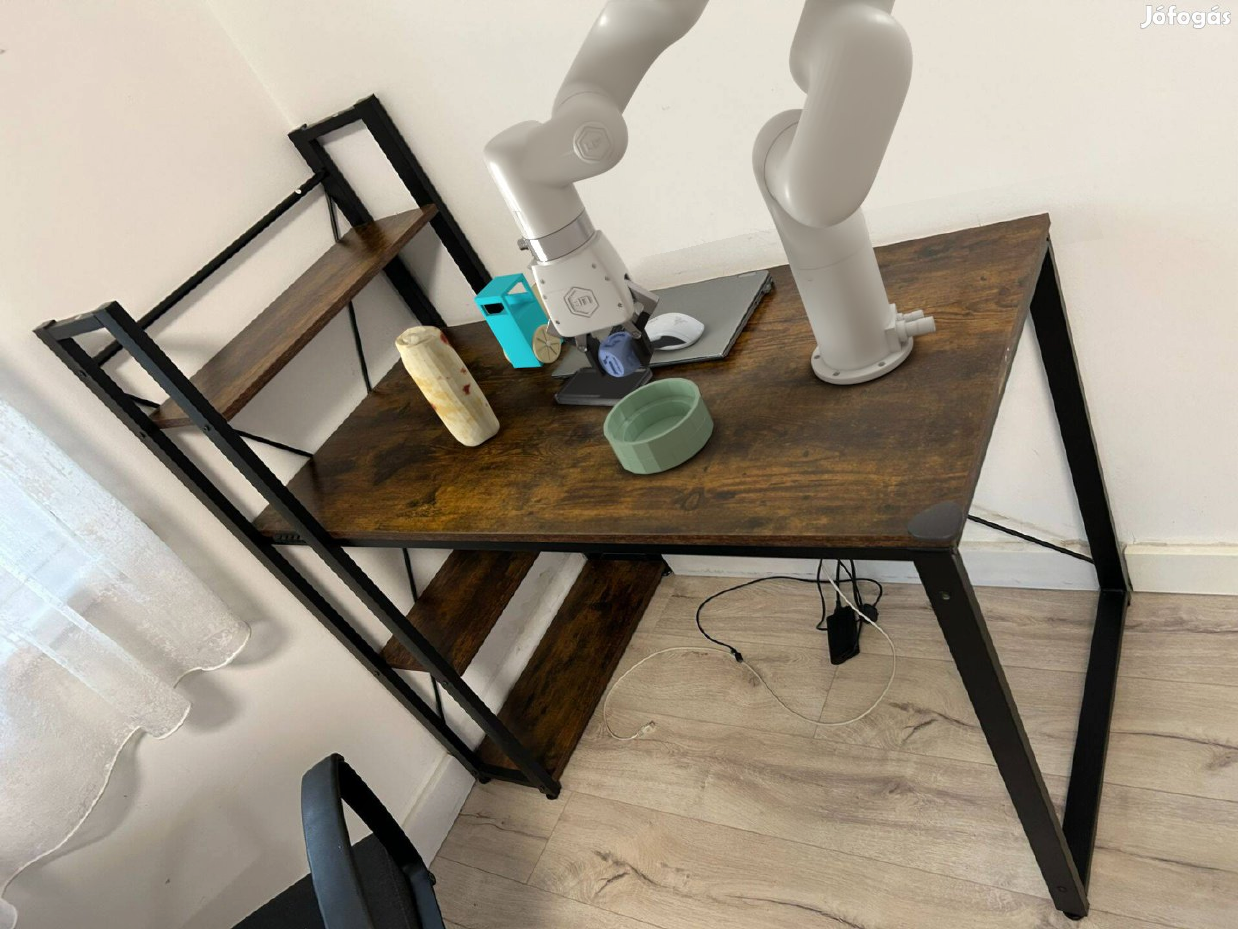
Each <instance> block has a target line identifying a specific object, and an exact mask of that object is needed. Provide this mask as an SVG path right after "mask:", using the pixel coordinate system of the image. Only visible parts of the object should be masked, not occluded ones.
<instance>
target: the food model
mask: <svg viewBox="0 0 1238 929" xmlns="http://www.w3.org/2000/svg"><path fill="white" fill-rule="evenodd" d="M395 346H396V348H397V350H398V352H399V353H400V357H401V361H402V363H403V366H404V368H405V369H406V371H407V373H408V374H409V375H410V376H411V378H412V379H413V381H414V382H415V383H416V386H418V388H419V389H420V391H421V393H422V394H423V395H424V397H425V398H426V400H427V401H428V403H429V404H430V406H431V407H432V408H433V410H434V411H435V413H436V414H437V415H438V417H439V418H440V419H441V421H442V423H443V424H444V426H446V428H447V430H448V431H449V432H450V433H451V434H452V436H453V437H454V438H455V439H456V440H457V441H458V442H459V443H461V444H463V445H464V446H466V447H477V446H480V444H482V443H484V442H485V441H487V440H488V439H490V438H492V437H494V436H495V435H497V434H498V432H499V429H500V422H499V419H498V418H497V417H496V415H495V413H494V411H493V409H492V407H491V405H490V404H489V401H488V400H487V398H486V396H485V395H484V393H483V392H482V389H481V388H480V387H479V385H478V383H477V382H476V380H475V378H473V375H472V374H471V373H470V371H469V369H468V368H467V365H465V363H464V361H463V359H461V357H460V356H459V354H458V353H457V352H456V350H455V349H454V348H453V346H452V345H451V343H450V342H449V340H448V339H447V337H446V336H445V334H444V333H443V331H442V330H440V329H439V328H438V327H437V326H433V325H417V326H412V327H409V328H407V329H406V330H404V331H402V333H400V335H398V336H397V337H396V339H395Z"/></svg>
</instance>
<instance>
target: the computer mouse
mask: <svg viewBox="0 0 1238 929" xmlns="http://www.w3.org/2000/svg"><path fill="white" fill-rule="evenodd" d="M645 330H646V332H647V335H648V337H649V339H650V341H651V343H652V345H653V348H654V350H662V351H663V350H665V351H674V350H680V349H685V348H688V347H690V346H691V345H693V344H695V343H696V342H697V341H698V340H699V339H700V338H701V336H702V334H703V333H704V331H705V325H704V324H703V323H702V322H701V321H699V320H697V319H695V318H694V317H692V316H690V315H687V314H685V313H681V312H668V313H667V312H666V313H663V314H660V315H657V316H655V317H653V318H652V319H651V318H650V319H649V320H648V322H647V324H646V326H645ZM625 331H626V329H625V328H624V327H623V326H622V325H621V324H620V325H616V326H613V327H611V330H610V331H609V334H608V335H607V337H608V336H610V335H612V334H614V333H617V332H625Z"/></svg>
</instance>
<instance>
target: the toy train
mask: <svg viewBox="0 0 1238 929" xmlns="http://www.w3.org/2000/svg"><path fill="white" fill-rule="evenodd" d="M526 266H527V267H526V268H527V269H528V270H529V271H530V272H531V274H532V276H533V277H534V275H533V271H532V268H531V262H529V263H528V264H527V265H526ZM519 283H521V284H522V287H523V288H524V289H525V291H524V292H515V293H510V292H511V291H512V290H513V289H514V288H515V287H516V286H517V285H518V284H519ZM473 301H474V302H475V304H476V306H477V308H478V309H479V311H480V312H481V314H482V316H483V318H484V319H485V321H486V323H487V324H488V326H489V328H490V329H491V331H492V333H493V334H494V336H495V338H496V339H497V341H498V342H499V344H500V346H501V348H502V351H503V355H504V356H505V358H506V360H507V361H508V362H509V363H511V365H512V366H513V368H514V369H517V368H539V367H543V366H544V364H551V363H554V362H555V361H557V359H558V358H559V356H560V353H561V351H562V350H561V349H562V343H564V341H563V339H559V338H556V337H553V336H551V335H548V334H547V332H546V330H547V326H548V322H549V319H550V316H549V314H548V312H547V310H546V307H545V305H544V303H543V300H542V298H541V295H540V293H539V290H538V287H537V284H536V282H535V283H534V284H533V285H532V286H530V283H529V282H528V280H527V279H526V276H525V274H524V273H523V272H519V273H513V274H512V273H511V274H505V275H499V276H495V277H494V278H492V279H491V280H490V281H489V283H487V285H486V286H485V287H484V288H483V289H481V290H480V292H479V293H478V294H476V295H475V296H474V297H473ZM492 304H502V306H503V307H504V308H503V309H502V310H501V311H500V312H498V313H497V312H496V313H489V312H488V311H487V309H486V306H485V305H492Z"/></svg>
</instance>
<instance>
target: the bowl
mask: <svg viewBox="0 0 1238 929" xmlns="http://www.w3.org/2000/svg"><path fill="white" fill-rule="evenodd" d="M713 429H714V421H713V416H712V414H711V412H710V409H709V407H708V405H707V403H706V401H705V398H704V397H703V394H702V392H701V390H700V387H699V386H698V385H697V384H696V383H695V382H693V381H692V380H691V379H687V378H683V377H668V378H663V379H659V380H655V381H652V382H650V383H649V382H648V383H647V384H646V385H645V386H642V387H640V388H638V389H637V390H635V391H633V392H632V393H630V394H628V395H627V396H625V397H624V398H623V399H622V400H621V401H619V402H618V403H617V404H616V405H615V406H613V407H612V409H611V410H610V411H609V412H608V414H607V415H606V418H605V420H604V422H603V435H604V437H605V439H606V440H607V442H608V444H609V446H610V448H611V449H612V451H613V453H614V455H615V457H616V458H617V460H618V462H619V463H620V465H621V466H622V467H623V469H624V470H627V471H628V472H631V473H632V474H642V475H649V474H655V473H661V472H664V471H667V470H669V469H672V468H676V467H678V466H679V465H681V464H683V463H684V462H686V461H687V460H689V459H692V457H694V456H695V455H696V454H697V453H698V452H699V451H700V450H701V449H702V448H704V447H705V445H706V444H707V442H708V440H709V439H710V437H711V436H712V434H713V433H712V432H713Z"/></svg>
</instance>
